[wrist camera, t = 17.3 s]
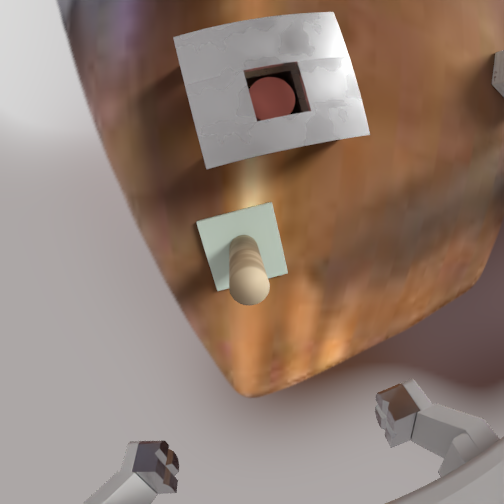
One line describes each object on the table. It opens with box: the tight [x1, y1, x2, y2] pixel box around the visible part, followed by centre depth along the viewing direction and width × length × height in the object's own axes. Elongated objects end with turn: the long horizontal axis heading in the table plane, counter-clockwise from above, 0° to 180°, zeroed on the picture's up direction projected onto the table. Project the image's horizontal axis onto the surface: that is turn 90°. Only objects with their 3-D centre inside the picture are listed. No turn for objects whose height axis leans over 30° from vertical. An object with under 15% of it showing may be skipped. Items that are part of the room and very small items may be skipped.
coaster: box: [196, 202, 288, 291], centre depth 32 cm, size 8×8×1 cm
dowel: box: [229, 235, 270, 305], centre depth 27 cm, size 3×3×10 cm
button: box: [249, 77, 295, 121], centre depth 26 cm, size 4×4×3 cm
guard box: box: [173, 12, 370, 169], centre depth 24 cm, size 14×12×7 cm
